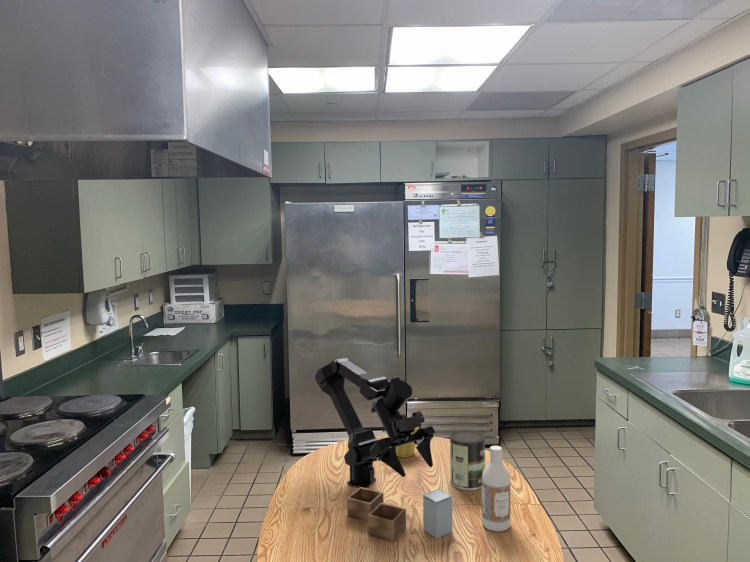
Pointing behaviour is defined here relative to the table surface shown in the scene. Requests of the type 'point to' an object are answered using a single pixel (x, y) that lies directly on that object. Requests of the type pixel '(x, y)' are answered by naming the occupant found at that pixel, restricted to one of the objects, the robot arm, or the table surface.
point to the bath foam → (496, 493)
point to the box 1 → (363, 503)
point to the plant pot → (406, 448)
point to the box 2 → (387, 522)
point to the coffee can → (467, 459)
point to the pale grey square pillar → (437, 513)
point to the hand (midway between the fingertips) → (418, 471)
